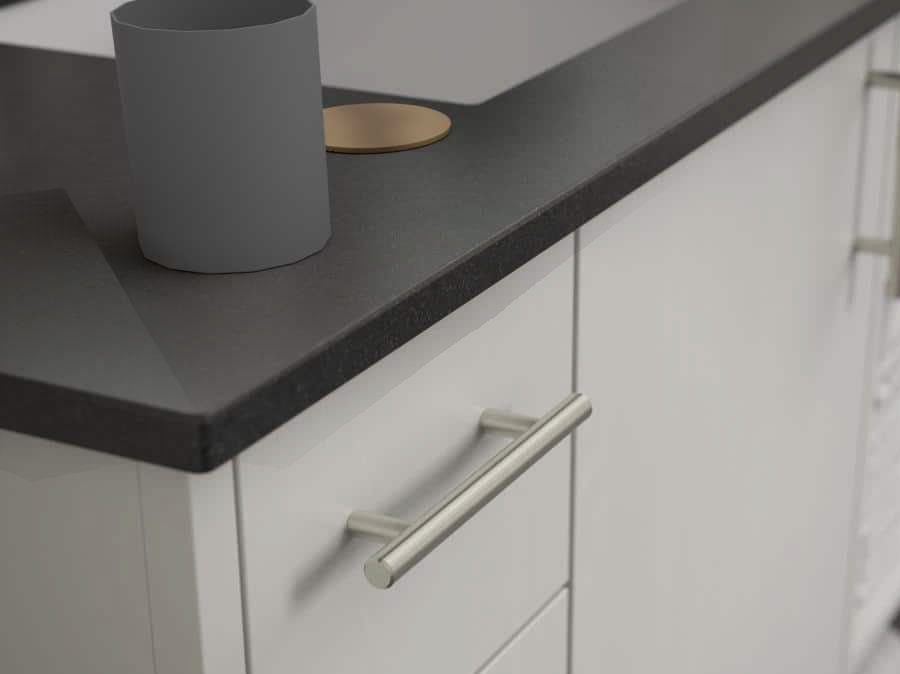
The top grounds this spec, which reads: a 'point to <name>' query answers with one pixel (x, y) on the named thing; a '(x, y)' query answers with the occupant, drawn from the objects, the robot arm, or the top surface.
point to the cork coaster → (382, 127)
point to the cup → (223, 131)
